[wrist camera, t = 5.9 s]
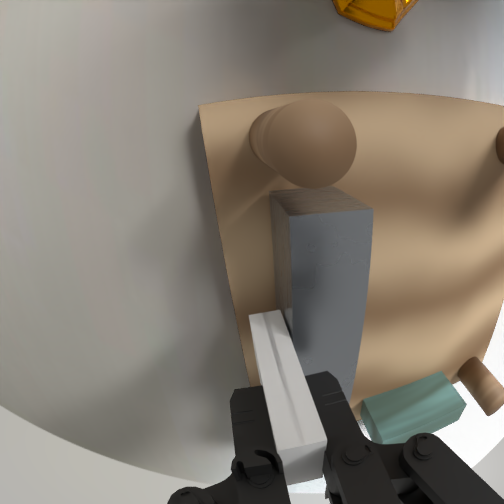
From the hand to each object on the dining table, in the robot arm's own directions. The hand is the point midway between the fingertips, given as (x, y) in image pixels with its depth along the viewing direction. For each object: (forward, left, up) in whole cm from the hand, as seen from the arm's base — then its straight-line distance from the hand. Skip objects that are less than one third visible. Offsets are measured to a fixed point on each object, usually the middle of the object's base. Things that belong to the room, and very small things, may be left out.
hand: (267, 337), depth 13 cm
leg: (+2, +2, -2) cm, 3 cm away
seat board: (+1, +9, -4) cm, 10 cm away
